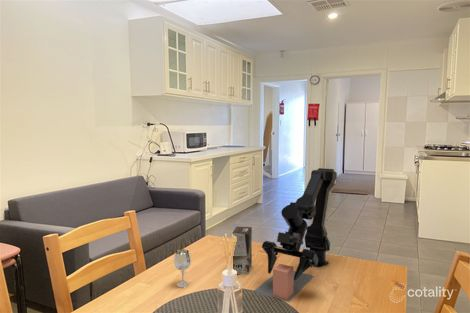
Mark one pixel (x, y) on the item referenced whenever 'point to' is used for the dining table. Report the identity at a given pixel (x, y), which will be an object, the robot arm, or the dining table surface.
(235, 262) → the coffee box
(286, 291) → the red block
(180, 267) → the wineglass
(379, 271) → the dining table surface
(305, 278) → the mat
